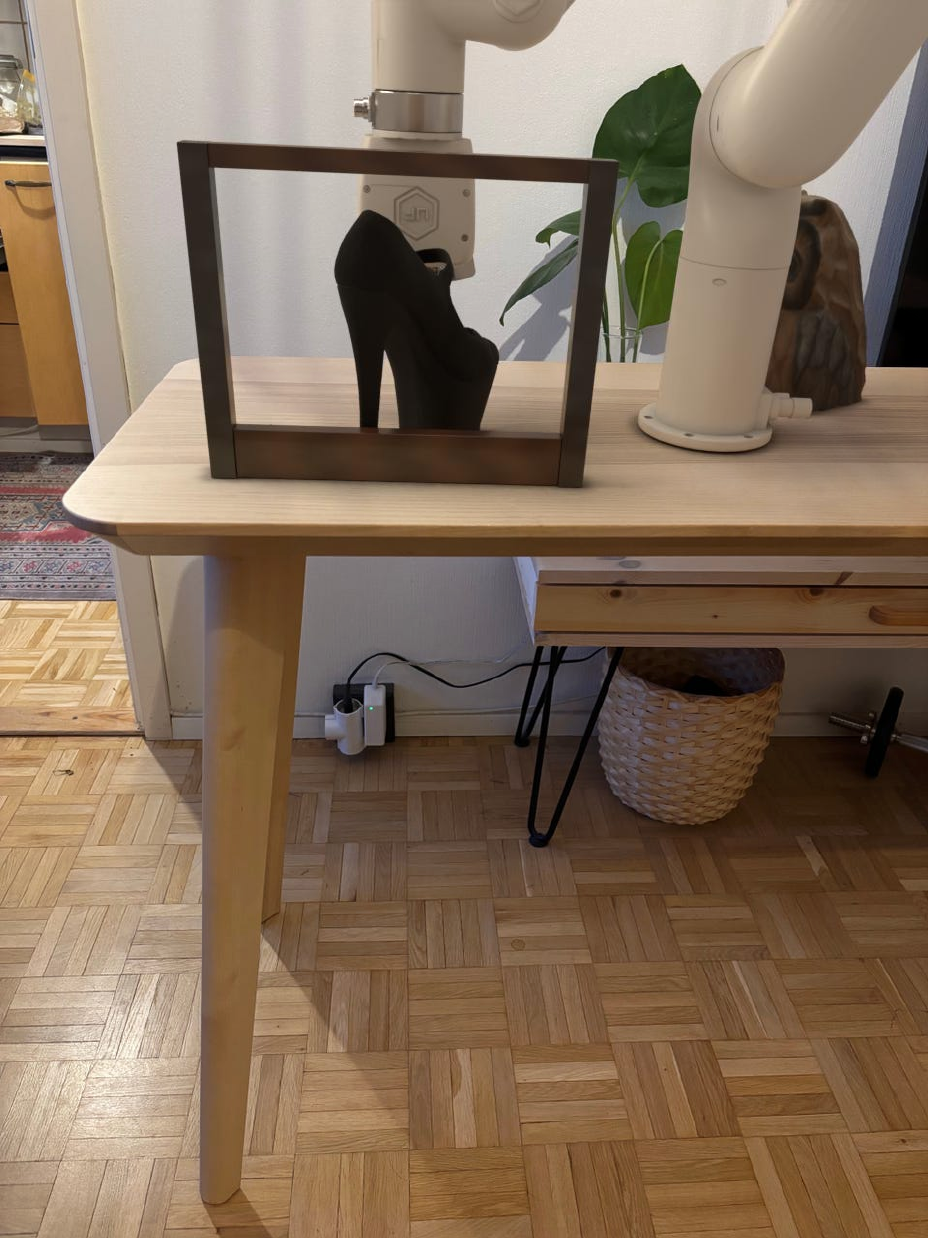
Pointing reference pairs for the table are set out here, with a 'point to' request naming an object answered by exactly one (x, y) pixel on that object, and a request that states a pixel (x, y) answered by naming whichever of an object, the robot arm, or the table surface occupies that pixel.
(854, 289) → the owl
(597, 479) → the table surface
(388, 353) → the high-heeled shoe
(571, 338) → the wooden picture frame
